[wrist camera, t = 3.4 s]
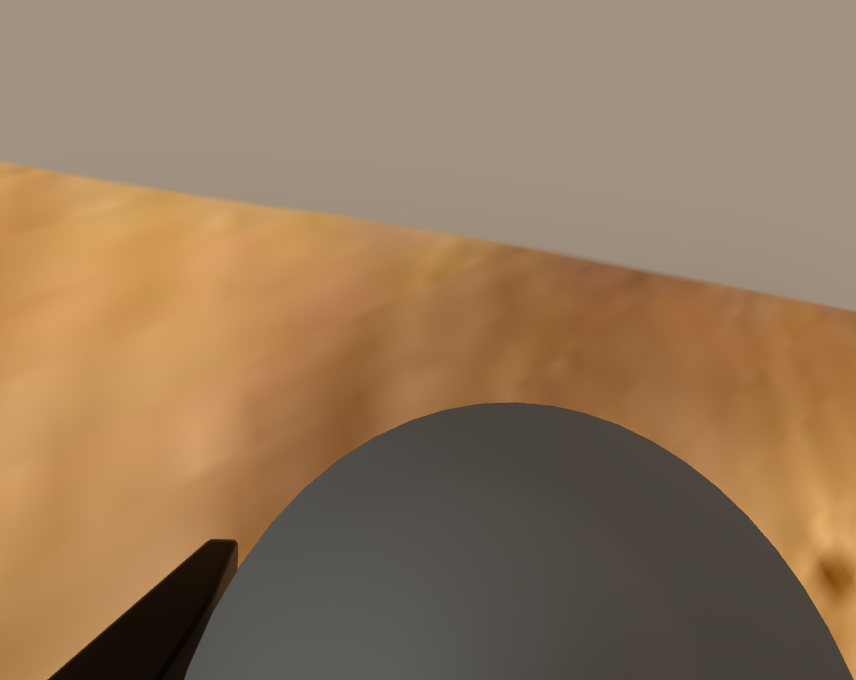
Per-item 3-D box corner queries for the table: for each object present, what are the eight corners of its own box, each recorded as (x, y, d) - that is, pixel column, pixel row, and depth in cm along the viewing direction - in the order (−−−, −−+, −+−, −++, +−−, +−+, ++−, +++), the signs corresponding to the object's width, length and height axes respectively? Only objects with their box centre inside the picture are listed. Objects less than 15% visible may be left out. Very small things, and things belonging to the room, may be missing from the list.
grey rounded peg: (487, 600, 15) (925, 582, 4) (407, 797, 12) (935, 1907, 2) (343, 514, 15) (406, 292, 4) (240, 690, 13) (-146, 1104, 2)
